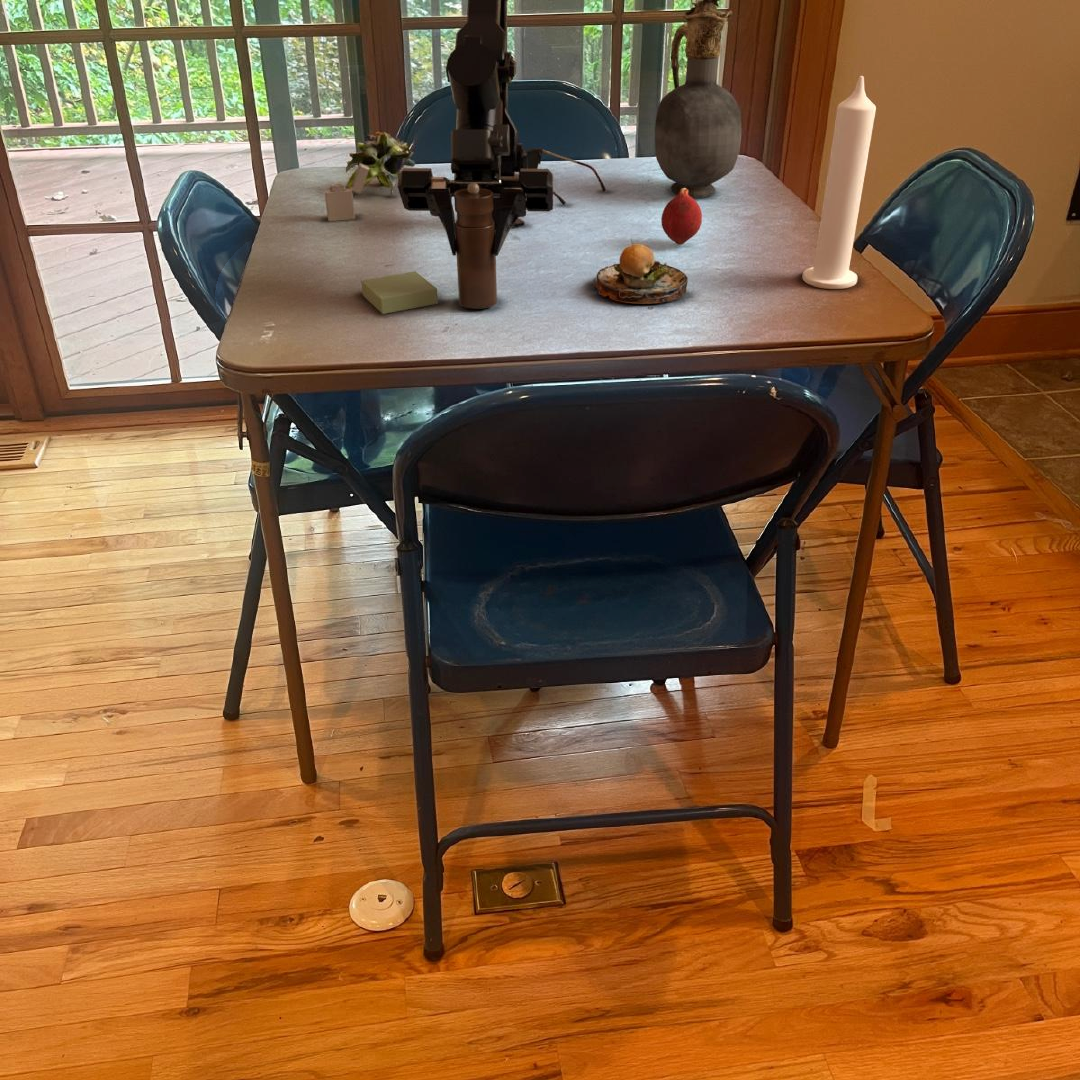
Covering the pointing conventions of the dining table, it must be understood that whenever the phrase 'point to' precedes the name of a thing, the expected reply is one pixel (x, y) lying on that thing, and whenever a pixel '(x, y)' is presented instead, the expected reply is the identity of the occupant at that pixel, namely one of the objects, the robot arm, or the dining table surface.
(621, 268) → the wood slice pumpkin decoration
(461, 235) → the pepper mill
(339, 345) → the dining table surface
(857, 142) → the candle
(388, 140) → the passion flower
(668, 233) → the onion
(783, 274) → the dining table surface
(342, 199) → the lighter
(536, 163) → the sunglasses
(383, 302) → the riser block
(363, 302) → the dining table surface
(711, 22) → the pitcher
